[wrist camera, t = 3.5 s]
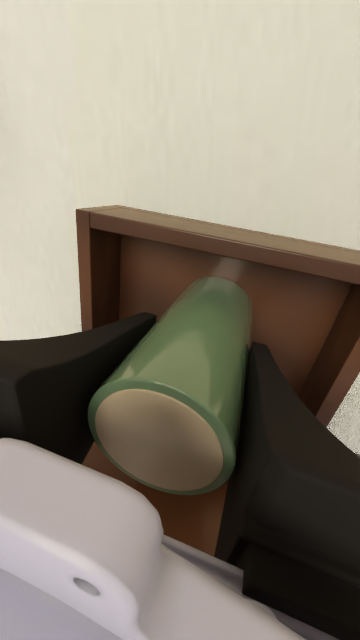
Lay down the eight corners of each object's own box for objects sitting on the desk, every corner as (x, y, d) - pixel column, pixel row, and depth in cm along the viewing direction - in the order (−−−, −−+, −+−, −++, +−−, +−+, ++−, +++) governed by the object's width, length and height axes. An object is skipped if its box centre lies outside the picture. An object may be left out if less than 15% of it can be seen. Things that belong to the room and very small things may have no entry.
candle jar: (263, 286, 13) (256, 416, 6) (242, 355, 16) (216, 518, 8) (183, 268, 14) (82, 358, 7) (173, 335, 16) (87, 464, 9)
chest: (117, 205, 15) (75, 208, 11) (378, 254, 12) (417, 276, 9) (113, 384, 21) (86, 418, 18) (283, 442, 18) (286, 494, 15)
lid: (-277, 925, 6) (-251, 909, 7) (302, 1612, 4) (286, 1514, 4) (81, 420, 17) (83, 425, 18) (289, 498, 15) (285, 503, 15)
